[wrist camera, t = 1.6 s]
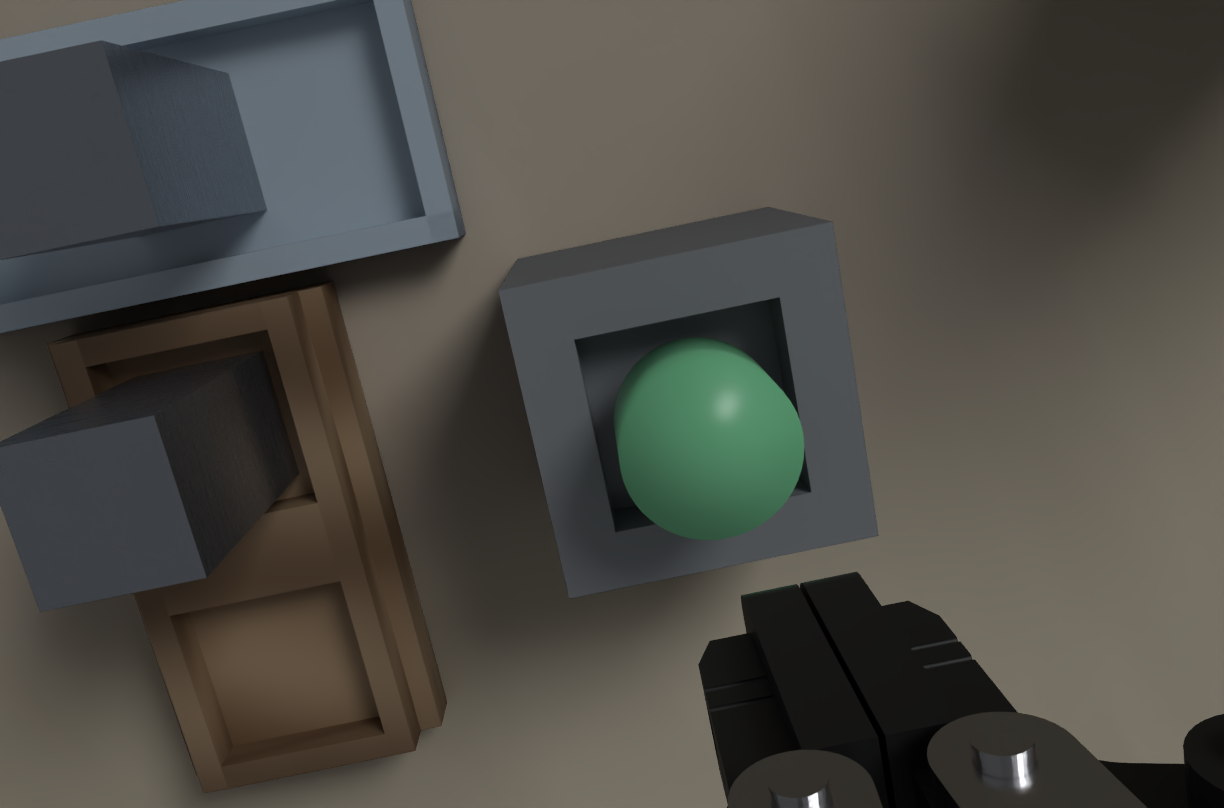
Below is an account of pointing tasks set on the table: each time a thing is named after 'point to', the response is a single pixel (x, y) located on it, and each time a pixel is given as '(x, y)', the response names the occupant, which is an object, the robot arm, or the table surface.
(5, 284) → the tray
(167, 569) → the seated billet
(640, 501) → the button
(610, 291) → the grey cube holder
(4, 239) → the block
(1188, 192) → the table surface
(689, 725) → the table surface
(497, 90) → the table surface
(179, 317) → the tray
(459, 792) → the table surface
